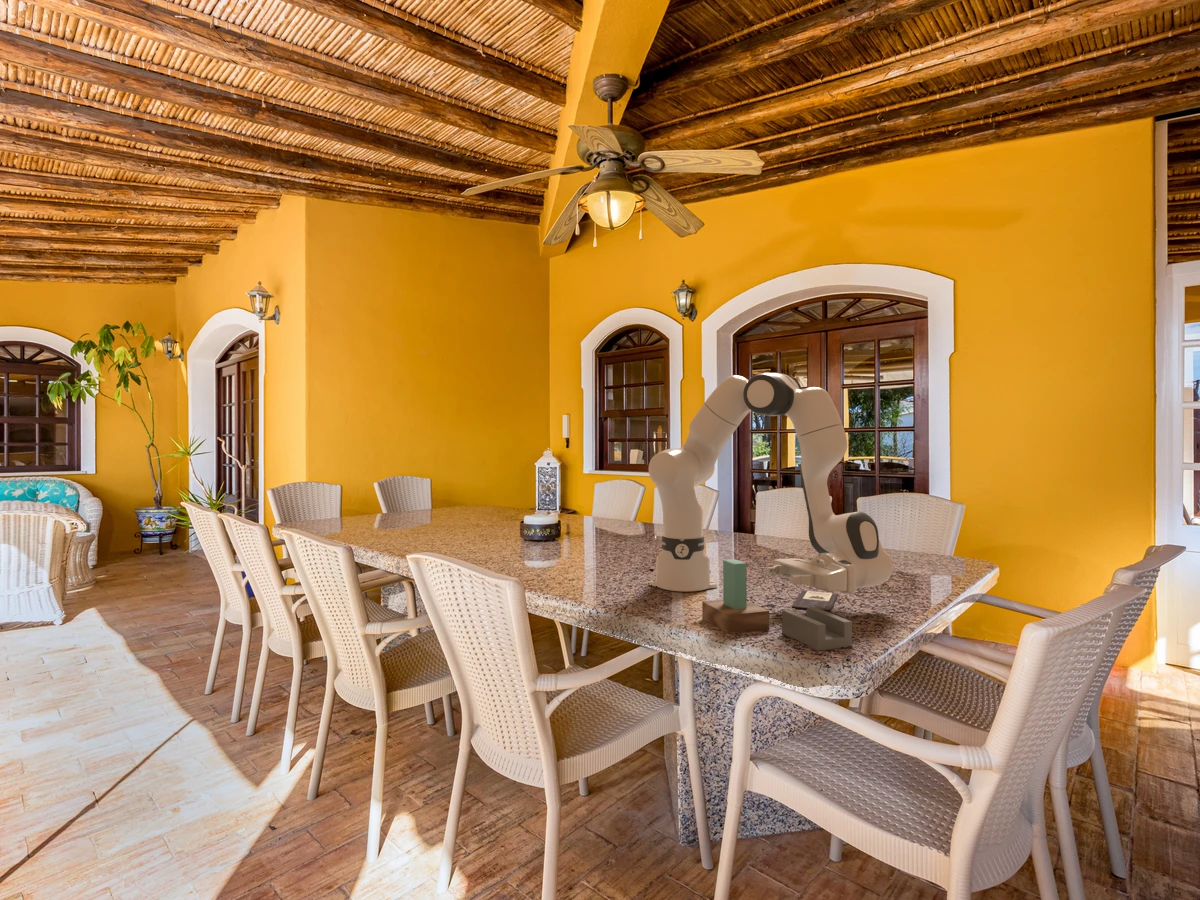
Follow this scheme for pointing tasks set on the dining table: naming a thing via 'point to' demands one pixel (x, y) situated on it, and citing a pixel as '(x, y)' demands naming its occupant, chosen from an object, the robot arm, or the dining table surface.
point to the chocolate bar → (815, 600)
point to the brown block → (735, 617)
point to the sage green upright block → (734, 584)
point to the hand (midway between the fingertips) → (779, 575)
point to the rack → (817, 628)
